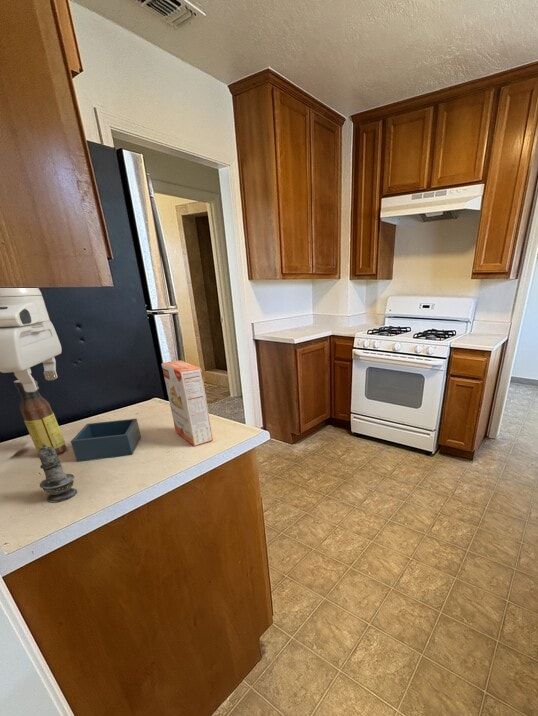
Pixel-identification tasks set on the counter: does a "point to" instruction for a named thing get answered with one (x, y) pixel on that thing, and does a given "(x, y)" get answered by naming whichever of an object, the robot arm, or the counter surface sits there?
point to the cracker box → (188, 401)
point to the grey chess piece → (55, 476)
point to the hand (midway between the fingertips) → (43, 385)
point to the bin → (106, 440)
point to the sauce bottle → (40, 420)
